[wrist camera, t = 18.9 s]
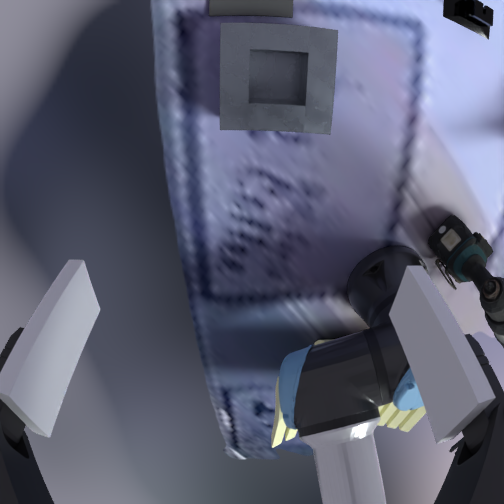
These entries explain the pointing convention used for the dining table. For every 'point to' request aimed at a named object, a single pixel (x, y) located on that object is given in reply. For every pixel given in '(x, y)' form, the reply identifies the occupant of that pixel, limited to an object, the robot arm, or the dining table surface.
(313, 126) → the block
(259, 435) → the dining table surface
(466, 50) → the dining table surface
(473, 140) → the dining table surface
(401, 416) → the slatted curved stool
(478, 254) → the power drill
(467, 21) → the black notched block
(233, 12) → the rubber mat
